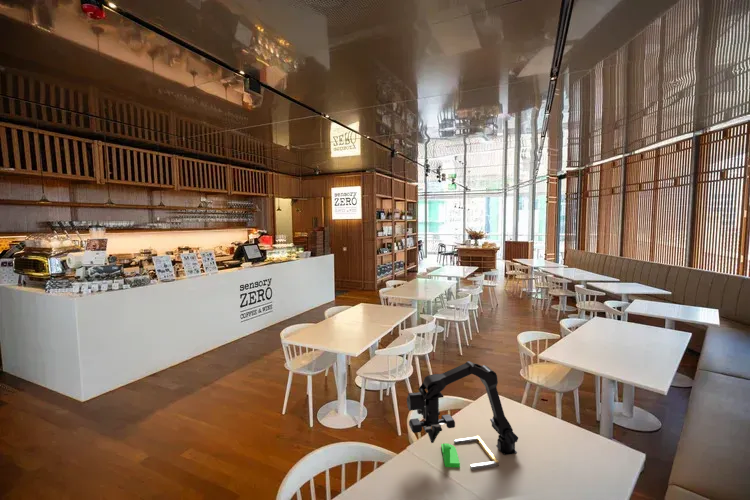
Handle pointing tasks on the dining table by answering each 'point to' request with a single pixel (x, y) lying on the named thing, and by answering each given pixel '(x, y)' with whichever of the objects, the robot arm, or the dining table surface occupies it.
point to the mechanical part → (450, 455)
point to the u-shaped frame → (485, 448)
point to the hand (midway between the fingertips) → (432, 442)
